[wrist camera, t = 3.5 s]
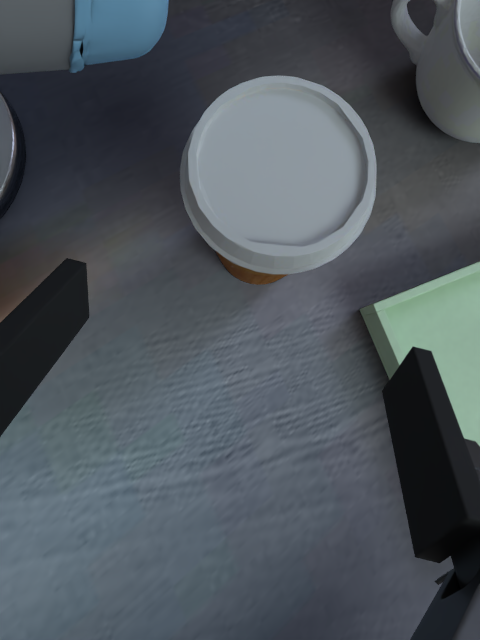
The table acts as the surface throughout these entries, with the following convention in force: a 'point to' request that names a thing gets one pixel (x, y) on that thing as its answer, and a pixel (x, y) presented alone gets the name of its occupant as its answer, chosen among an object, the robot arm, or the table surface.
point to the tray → (437, 336)
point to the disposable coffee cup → (278, 177)
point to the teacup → (446, 64)
